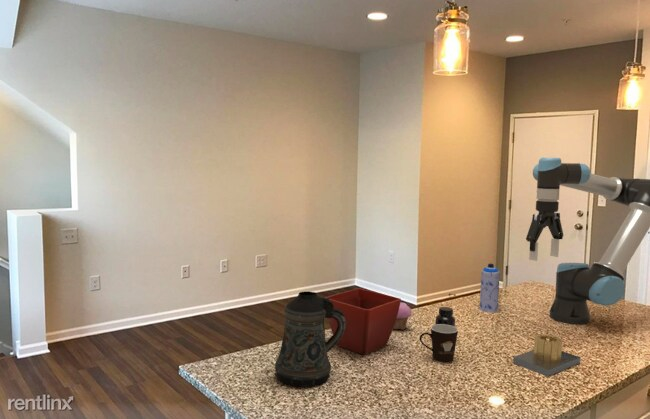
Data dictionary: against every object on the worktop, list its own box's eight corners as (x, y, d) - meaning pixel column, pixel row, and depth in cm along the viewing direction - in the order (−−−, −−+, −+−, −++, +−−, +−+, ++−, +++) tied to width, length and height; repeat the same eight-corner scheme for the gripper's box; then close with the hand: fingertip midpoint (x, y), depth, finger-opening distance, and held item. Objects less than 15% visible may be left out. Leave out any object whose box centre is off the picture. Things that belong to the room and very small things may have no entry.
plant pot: (400, 345, 176) (402, 298, 174) (366, 361, 162) (367, 309, 160) (358, 332, 189) (359, 287, 187) (322, 345, 175) (323, 297, 173)
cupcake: (409, 325, 197) (410, 300, 196) (411, 333, 189) (412, 306, 188) (386, 324, 198) (387, 299, 197) (387, 331, 190) (388, 305, 189)
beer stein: (266, 371, 153) (266, 289, 151) (322, 359, 163) (323, 282, 160) (289, 393, 139) (290, 304, 136) (350, 379, 148) (352, 295, 146)
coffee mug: (457, 355, 168) (459, 326, 167) (455, 365, 160) (456, 334, 159) (422, 350, 171) (423, 321, 170) (418, 360, 163) (419, 329, 162)
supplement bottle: (450, 346, 176) (452, 312, 174) (431, 342, 179) (433, 309, 178) (456, 340, 181) (458, 307, 180) (438, 337, 185) (439, 304, 184)
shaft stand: (545, 351, 173) (546, 332, 172) (580, 363, 163) (581, 343, 162) (513, 362, 162) (514, 343, 162) (548, 376, 153) (549, 355, 152)
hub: (542, 350, 168) (543, 332, 167) (566, 358, 162) (567, 340, 161) (528, 355, 163) (529, 337, 163) (551, 364, 157) (553, 345, 156)
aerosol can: (500, 312, 216) (503, 266, 214) (482, 312, 216) (484, 265, 214) (494, 307, 224) (497, 262, 222) (476, 306, 224) (479, 261, 222)
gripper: (556, 198, 195) (553, 253, 197) (517, 200, 180) (514, 259, 183) (575, 199, 189) (572, 256, 191) (537, 202, 174) (533, 263, 176)
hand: (543, 258), depth 187 cm, fingers open, 13 cm apart
